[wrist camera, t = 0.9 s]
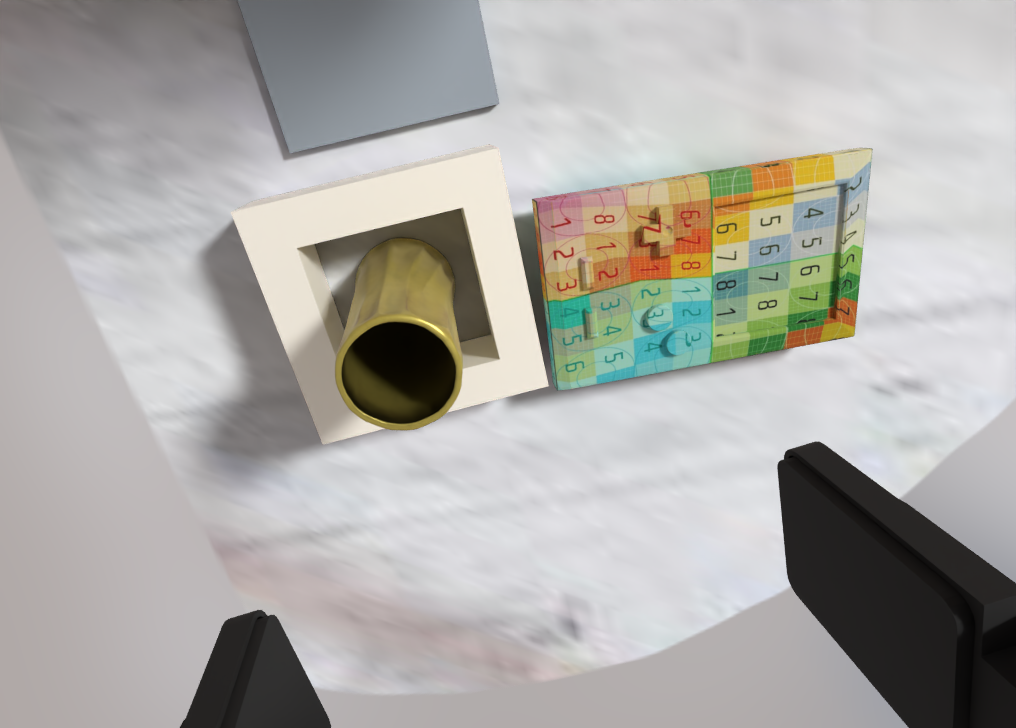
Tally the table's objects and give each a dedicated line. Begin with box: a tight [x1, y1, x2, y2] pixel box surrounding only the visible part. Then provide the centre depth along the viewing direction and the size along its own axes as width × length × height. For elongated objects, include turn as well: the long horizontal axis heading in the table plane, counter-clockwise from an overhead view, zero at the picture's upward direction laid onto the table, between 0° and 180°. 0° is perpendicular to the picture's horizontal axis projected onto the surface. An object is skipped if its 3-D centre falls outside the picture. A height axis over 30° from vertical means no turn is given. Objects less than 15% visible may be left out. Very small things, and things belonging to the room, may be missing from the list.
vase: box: [335, 238, 463, 430], centre depth 31 cm, size 6×6×14 cm
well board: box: [231, 144, 549, 445], centre depth 36 cm, size 14×14×4 cm
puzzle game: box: [532, 148, 872, 390], centre depth 38 cm, size 12×5×20 cm
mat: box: [237, 0, 499, 153], centre depth 32 cm, size 12×12×1 cm
